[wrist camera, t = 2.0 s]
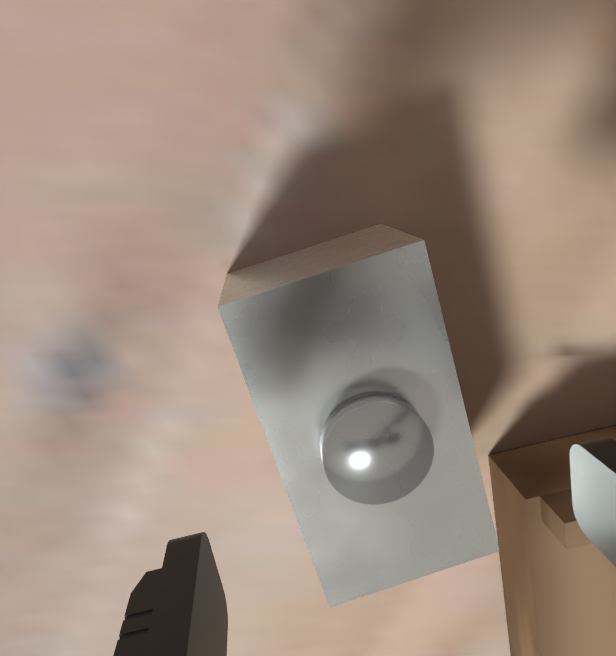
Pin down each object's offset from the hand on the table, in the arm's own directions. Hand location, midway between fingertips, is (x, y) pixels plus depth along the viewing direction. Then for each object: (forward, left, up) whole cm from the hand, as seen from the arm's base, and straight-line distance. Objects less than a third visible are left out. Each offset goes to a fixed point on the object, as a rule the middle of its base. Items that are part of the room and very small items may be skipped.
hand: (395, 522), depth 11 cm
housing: (0, 0, -9) cm, 9 cm away
